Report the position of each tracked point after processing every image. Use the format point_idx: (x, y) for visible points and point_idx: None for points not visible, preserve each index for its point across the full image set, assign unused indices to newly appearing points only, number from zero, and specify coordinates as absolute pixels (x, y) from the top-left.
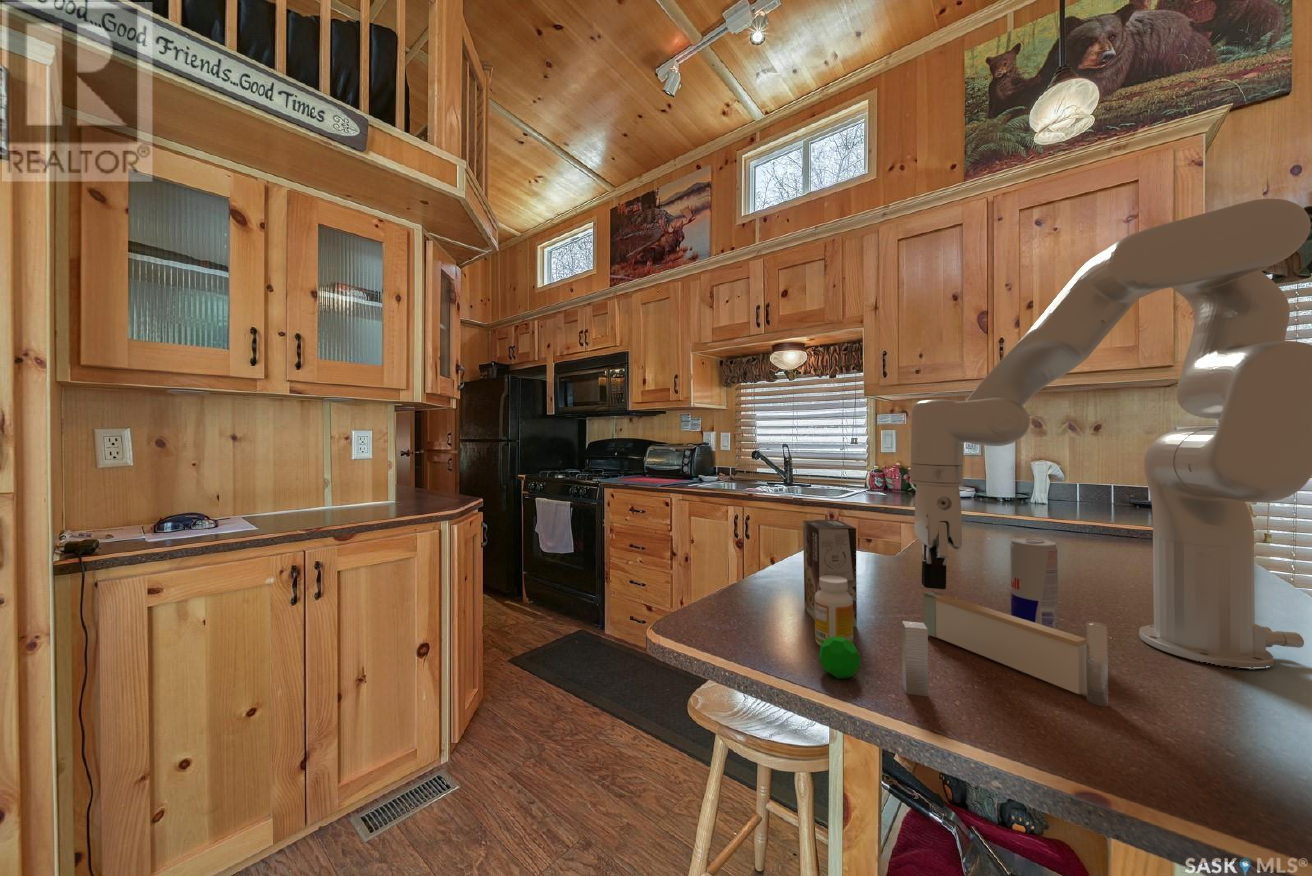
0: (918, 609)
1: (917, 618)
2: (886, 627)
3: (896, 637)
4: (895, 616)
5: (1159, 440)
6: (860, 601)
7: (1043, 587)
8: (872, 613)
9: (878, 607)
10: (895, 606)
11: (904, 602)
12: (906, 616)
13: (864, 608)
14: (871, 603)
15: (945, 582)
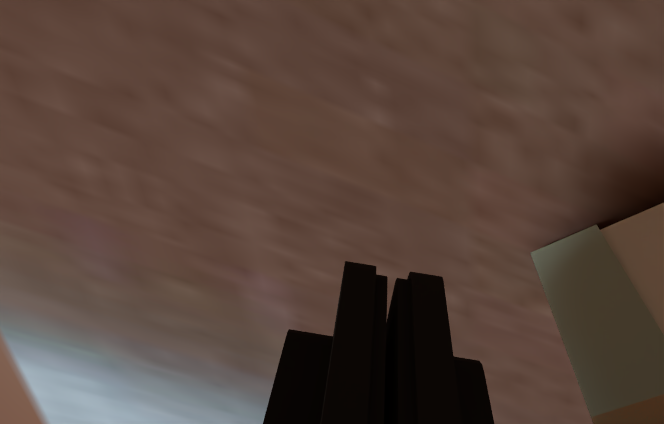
0: (140, 173)
1: (302, 235)
2: None
3: (570, 407)
4: (289, 324)
5: None
6: (99, 397)
7: None
8: (266, 400)
9: (168, 353)
10: (125, 274)
11: (32, 204)
12: (279, 276)
13: (201, 410)
14: (114, 363)
15: (442, 313)
